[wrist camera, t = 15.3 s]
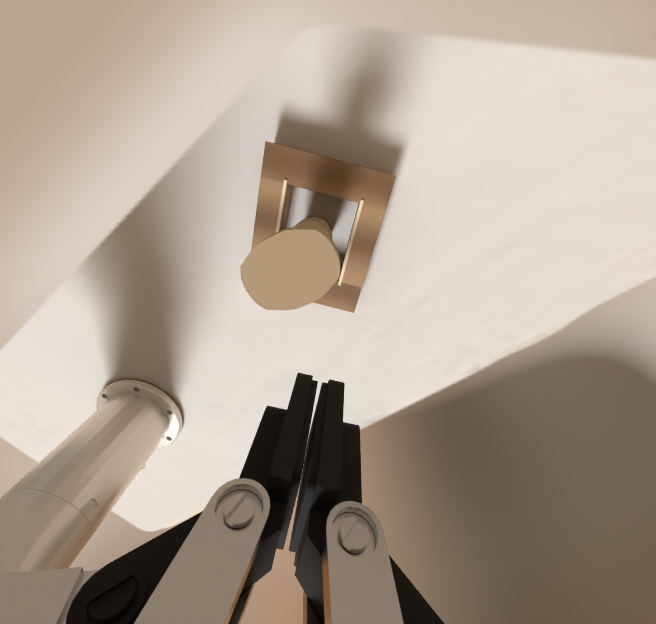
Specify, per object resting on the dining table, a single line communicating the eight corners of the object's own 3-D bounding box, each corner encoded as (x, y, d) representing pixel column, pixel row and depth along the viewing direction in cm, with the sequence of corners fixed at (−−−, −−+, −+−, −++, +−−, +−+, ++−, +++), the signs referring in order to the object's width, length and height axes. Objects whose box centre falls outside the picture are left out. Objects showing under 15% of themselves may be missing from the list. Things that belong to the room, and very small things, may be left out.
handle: (280, 223, 33) (226, 258, 19) (334, 196, 31) (317, 213, 17) (301, 263, 34) (265, 321, 21) (353, 239, 33) (351, 285, 19)
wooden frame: (354, 302, 36) (354, 313, 33) (255, 276, 35) (246, 286, 32) (392, 175, 30) (396, 175, 27) (273, 144, 29) (264, 140, 27)
